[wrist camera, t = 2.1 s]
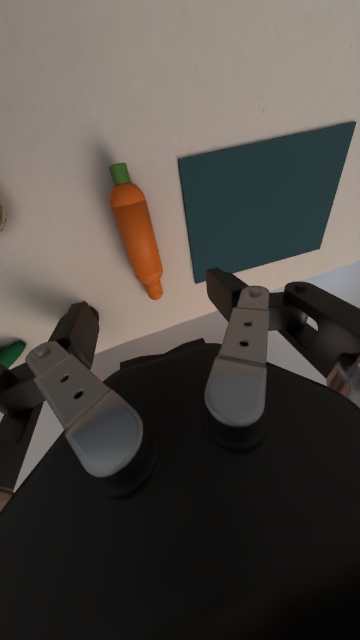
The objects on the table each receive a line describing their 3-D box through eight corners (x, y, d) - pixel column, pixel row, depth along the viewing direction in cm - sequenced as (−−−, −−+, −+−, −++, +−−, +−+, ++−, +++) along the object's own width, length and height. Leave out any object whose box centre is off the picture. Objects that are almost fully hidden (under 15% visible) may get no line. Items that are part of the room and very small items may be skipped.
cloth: (178, 159, 21) (178, 159, 20) (354, 122, 23) (356, 121, 23) (195, 283, 30) (195, 283, 30) (318, 248, 32) (319, 248, 32)
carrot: (100, 171, 20) (95, 166, 16) (135, 164, 20) (136, 157, 17) (144, 298, 30) (146, 311, 26) (167, 292, 30) (172, 303, 27)
